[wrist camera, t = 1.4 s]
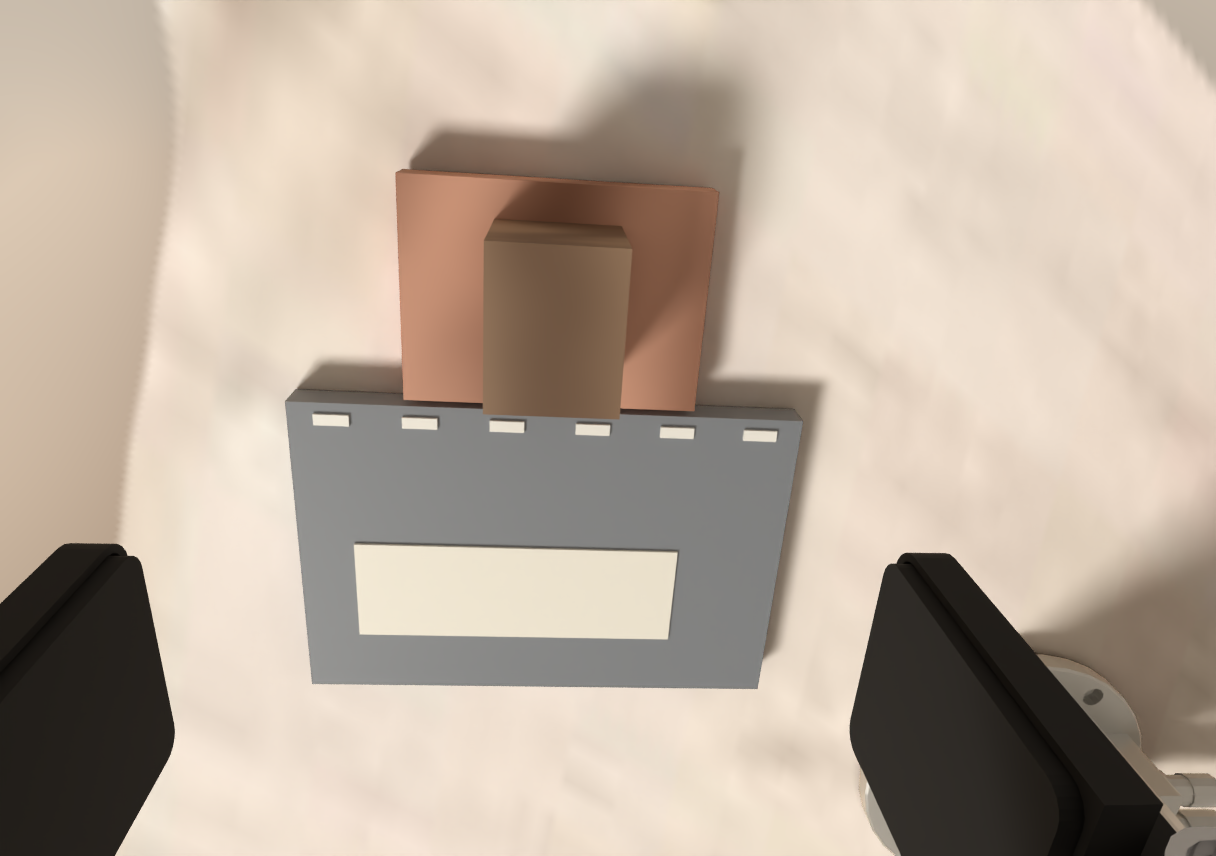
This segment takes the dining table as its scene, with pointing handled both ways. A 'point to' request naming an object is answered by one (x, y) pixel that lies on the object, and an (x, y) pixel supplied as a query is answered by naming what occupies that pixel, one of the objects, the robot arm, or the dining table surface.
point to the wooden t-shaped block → (552, 292)
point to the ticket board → (537, 542)
